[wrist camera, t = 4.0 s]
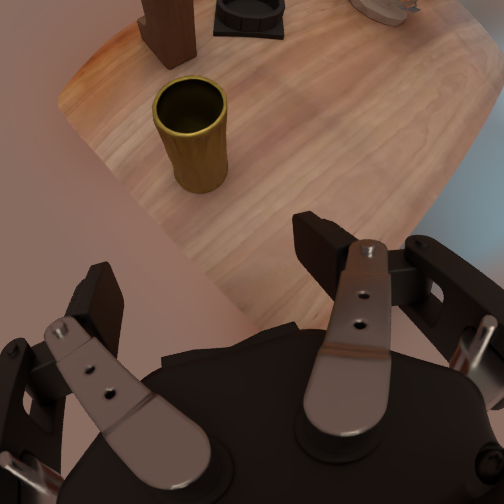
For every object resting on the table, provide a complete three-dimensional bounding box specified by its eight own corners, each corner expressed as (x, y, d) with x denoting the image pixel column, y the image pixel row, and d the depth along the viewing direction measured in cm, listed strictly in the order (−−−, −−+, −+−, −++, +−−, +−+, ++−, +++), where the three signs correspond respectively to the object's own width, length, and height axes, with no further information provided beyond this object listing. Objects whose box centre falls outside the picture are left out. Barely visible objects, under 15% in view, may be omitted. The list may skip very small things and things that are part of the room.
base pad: (213, 36, 32) (213, 17, 28) (217, -1, 33) (217, -18, 29) (283, 39, 34) (288, 22, 30) (278, 2, 34) (283, -14, 30)
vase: (186, 137, 32) (168, 63, 17) (235, 152, 32) (246, 82, 18) (166, 184, 31) (130, 130, 17) (217, 200, 32) (215, 154, 18)
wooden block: (141, 38, 31) (116, -53, 13) (168, 25, 32) (154, -67, 14) (168, 71, 32) (146, -33, 14) (198, 56, 32) (192, -49, 14)
